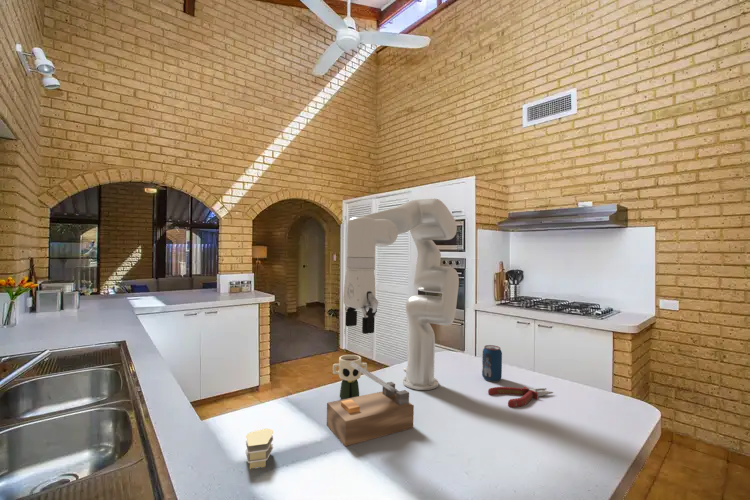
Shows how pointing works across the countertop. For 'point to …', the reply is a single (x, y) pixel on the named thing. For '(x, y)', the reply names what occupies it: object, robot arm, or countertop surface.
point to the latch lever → (373, 377)
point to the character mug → (349, 375)
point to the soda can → (492, 363)
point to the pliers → (519, 391)
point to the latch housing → (370, 415)
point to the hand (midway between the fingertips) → (359, 329)
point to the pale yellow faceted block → (259, 447)
